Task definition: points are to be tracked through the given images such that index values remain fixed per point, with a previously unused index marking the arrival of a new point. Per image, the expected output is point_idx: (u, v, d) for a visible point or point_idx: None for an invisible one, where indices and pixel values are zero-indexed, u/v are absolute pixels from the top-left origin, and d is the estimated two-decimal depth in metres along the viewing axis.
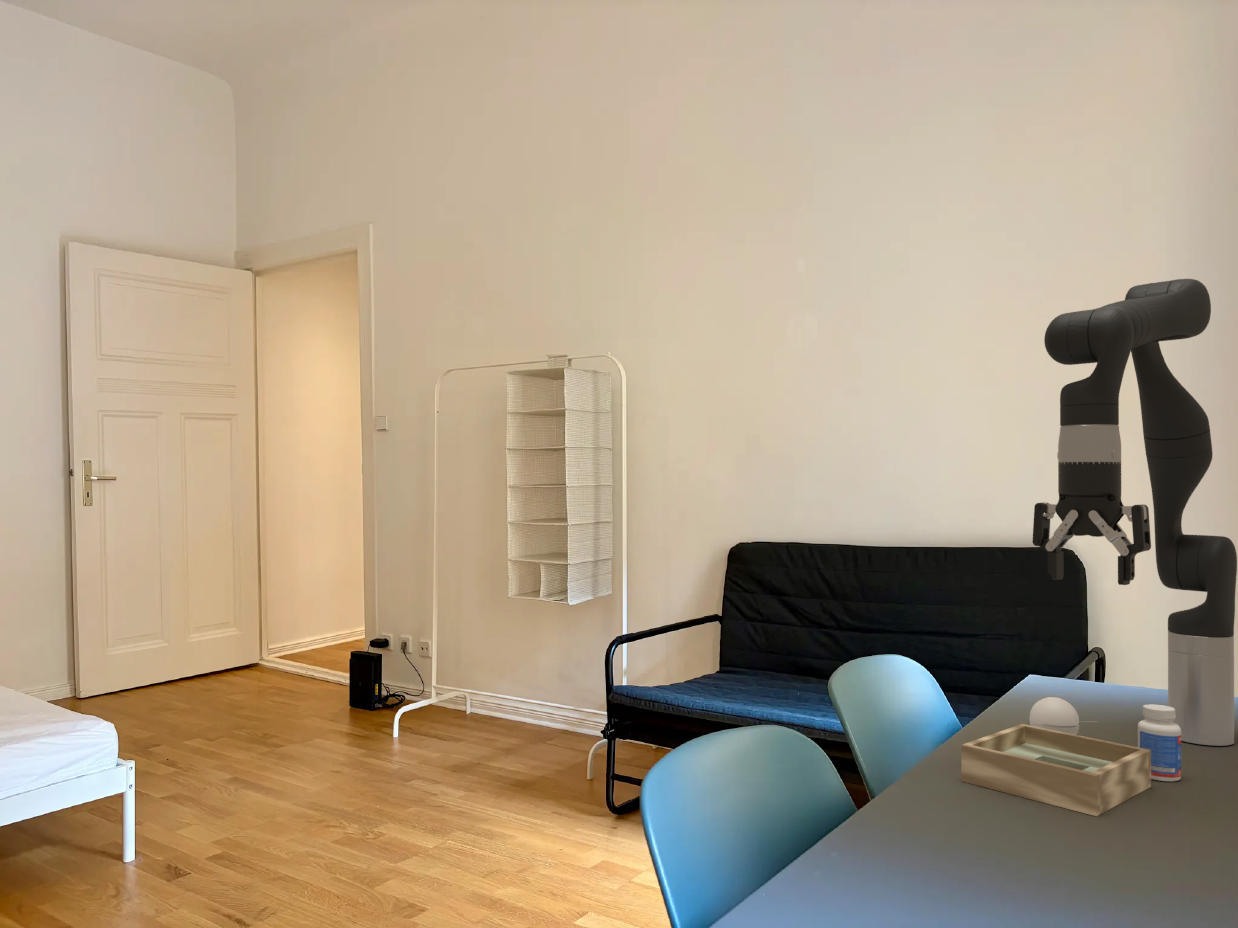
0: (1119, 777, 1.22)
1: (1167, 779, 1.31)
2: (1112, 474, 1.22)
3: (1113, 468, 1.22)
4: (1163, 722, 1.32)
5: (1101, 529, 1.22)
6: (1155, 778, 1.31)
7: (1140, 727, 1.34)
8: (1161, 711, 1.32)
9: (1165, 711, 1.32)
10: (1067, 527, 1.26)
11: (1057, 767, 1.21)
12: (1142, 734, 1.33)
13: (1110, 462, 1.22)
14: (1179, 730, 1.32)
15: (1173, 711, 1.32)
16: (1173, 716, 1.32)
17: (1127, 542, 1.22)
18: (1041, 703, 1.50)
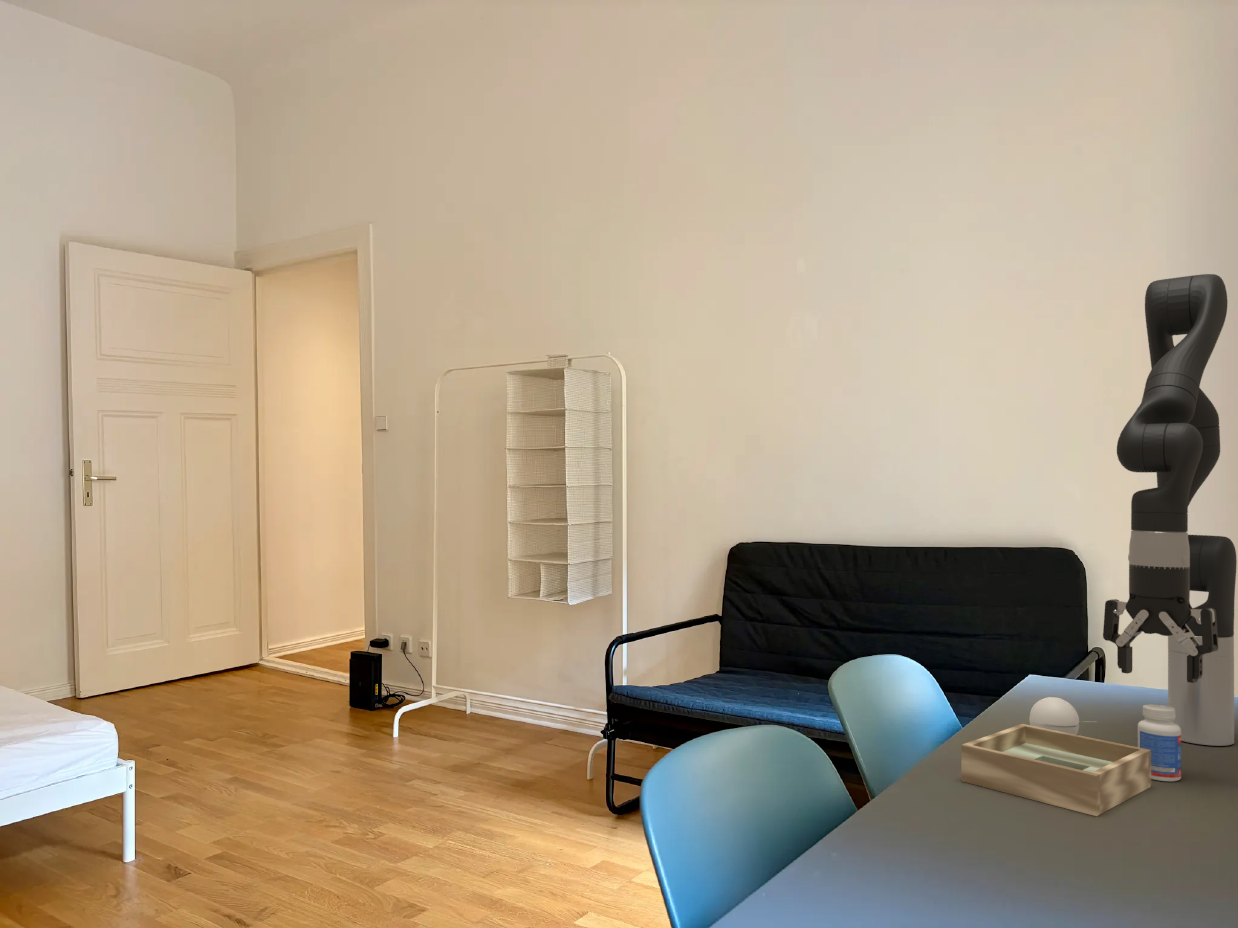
0: (1119, 777, 1.22)
1: (1167, 779, 1.31)
2: (1182, 579, 1.31)
3: (1183, 573, 1.31)
4: (1163, 722, 1.32)
5: (1171, 629, 1.31)
6: (1155, 778, 1.31)
7: (1140, 727, 1.34)
8: (1161, 711, 1.32)
9: (1165, 711, 1.32)
10: (1137, 625, 1.34)
11: (1057, 767, 1.21)
12: (1142, 734, 1.33)
13: (1180, 567, 1.31)
14: (1179, 730, 1.32)
15: (1173, 711, 1.32)
16: (1173, 716, 1.32)
17: (1195, 642, 1.31)
18: (1041, 703, 1.50)
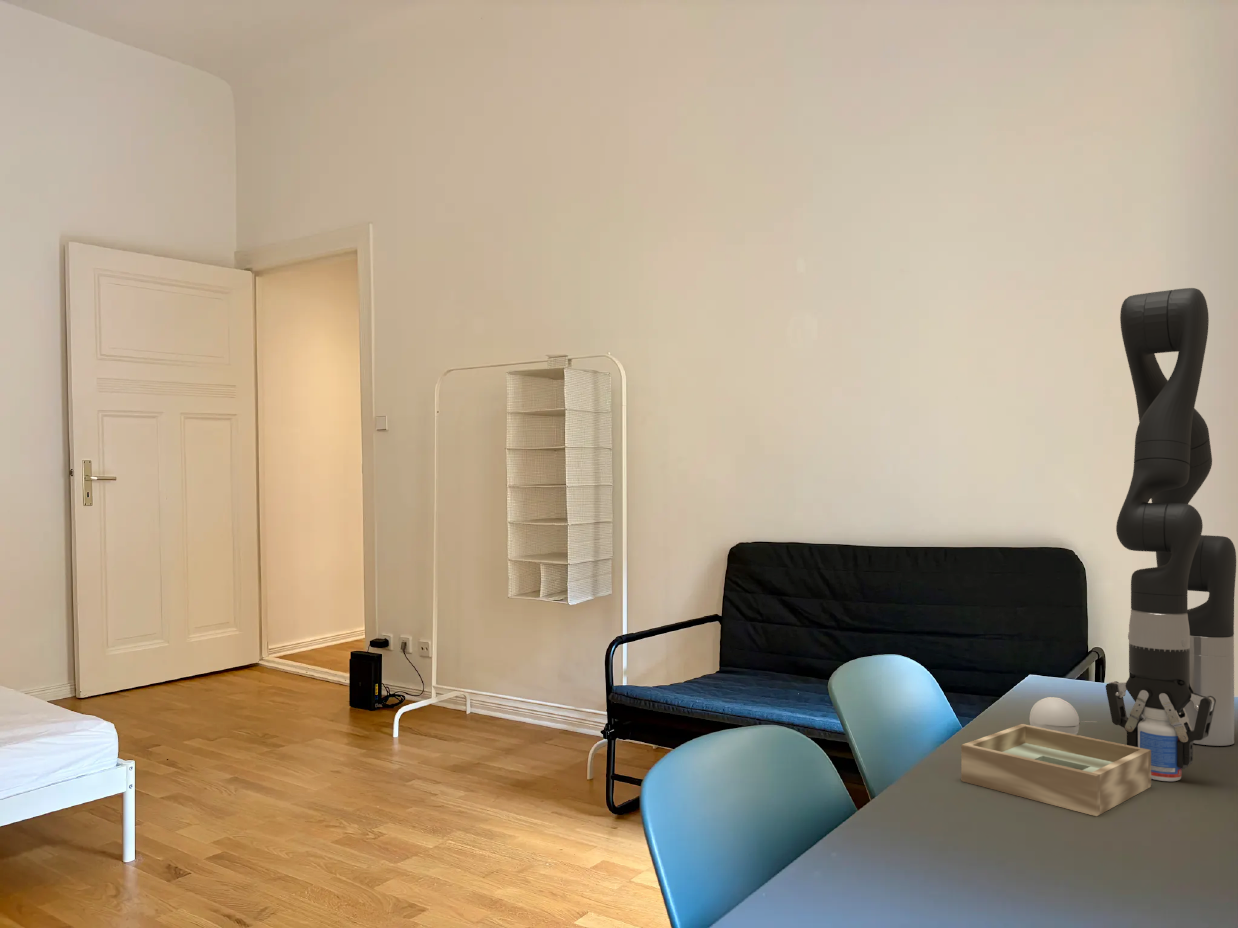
0: (1119, 777, 1.22)
1: (1167, 779, 1.31)
2: (1182, 661, 1.30)
3: (1183, 655, 1.30)
4: (1163, 722, 1.32)
5: (1167, 712, 1.31)
6: (1155, 778, 1.31)
7: (1140, 727, 1.34)
8: (1161, 711, 1.32)
9: (1165, 711, 1.32)
10: (1138, 705, 1.34)
11: (1057, 767, 1.21)
12: (1143, 733, 1.33)
13: (1180, 650, 1.30)
14: None
15: None
16: (1173, 716, 1.32)
17: (1188, 727, 1.31)
18: (1041, 703, 1.50)
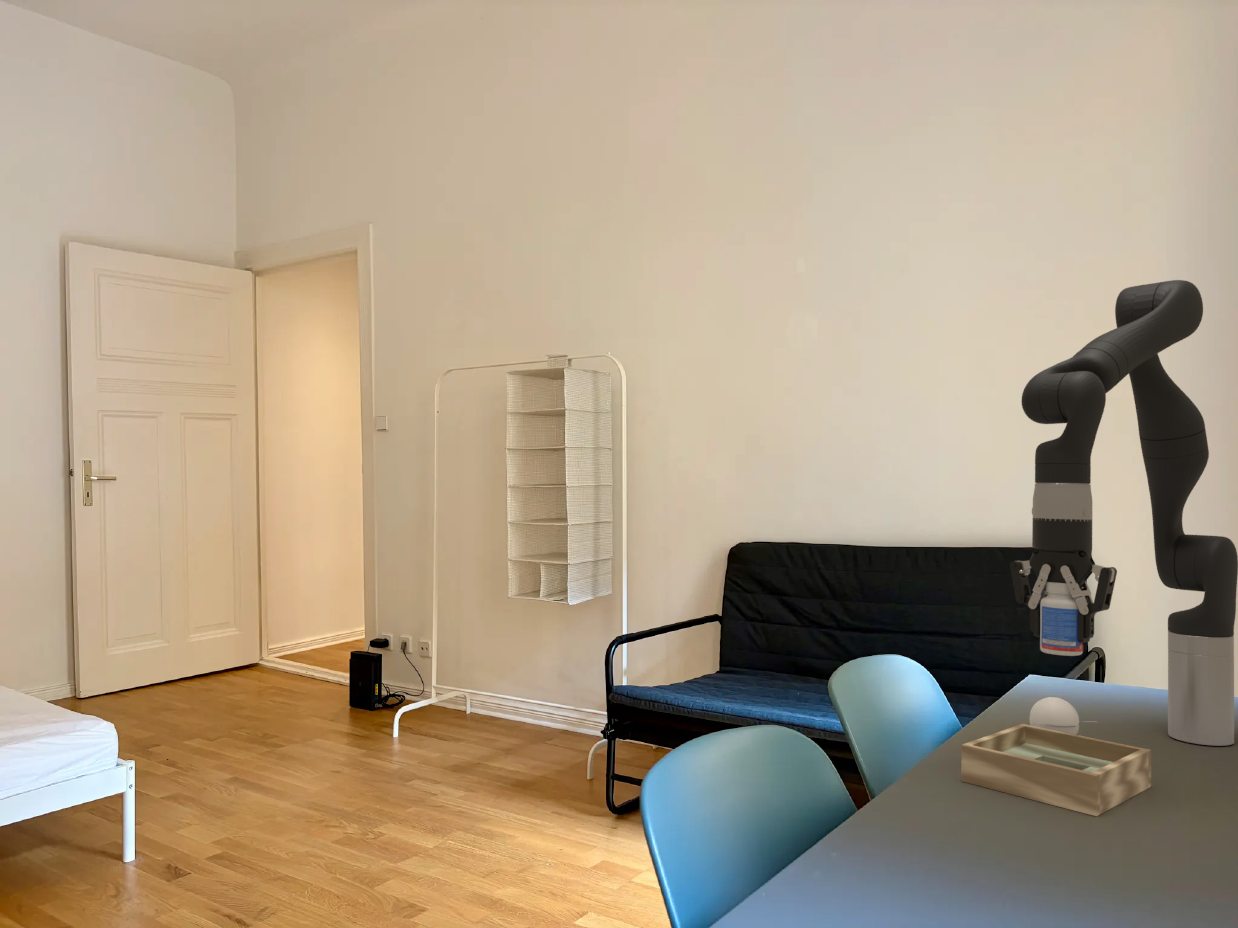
0: (1119, 777, 1.22)
1: (1067, 653, 1.27)
2: (1083, 531, 1.27)
3: (1084, 525, 1.27)
4: (1065, 596, 1.28)
5: (1068, 585, 1.28)
6: (1055, 653, 1.28)
7: (1042, 602, 1.30)
8: (1062, 584, 1.28)
9: (1066, 584, 1.28)
10: (1040, 580, 1.31)
11: (1057, 767, 1.21)
12: (1044, 608, 1.29)
13: (1081, 520, 1.27)
14: None
15: None
16: None
17: (1089, 601, 1.28)
18: (1041, 703, 1.50)
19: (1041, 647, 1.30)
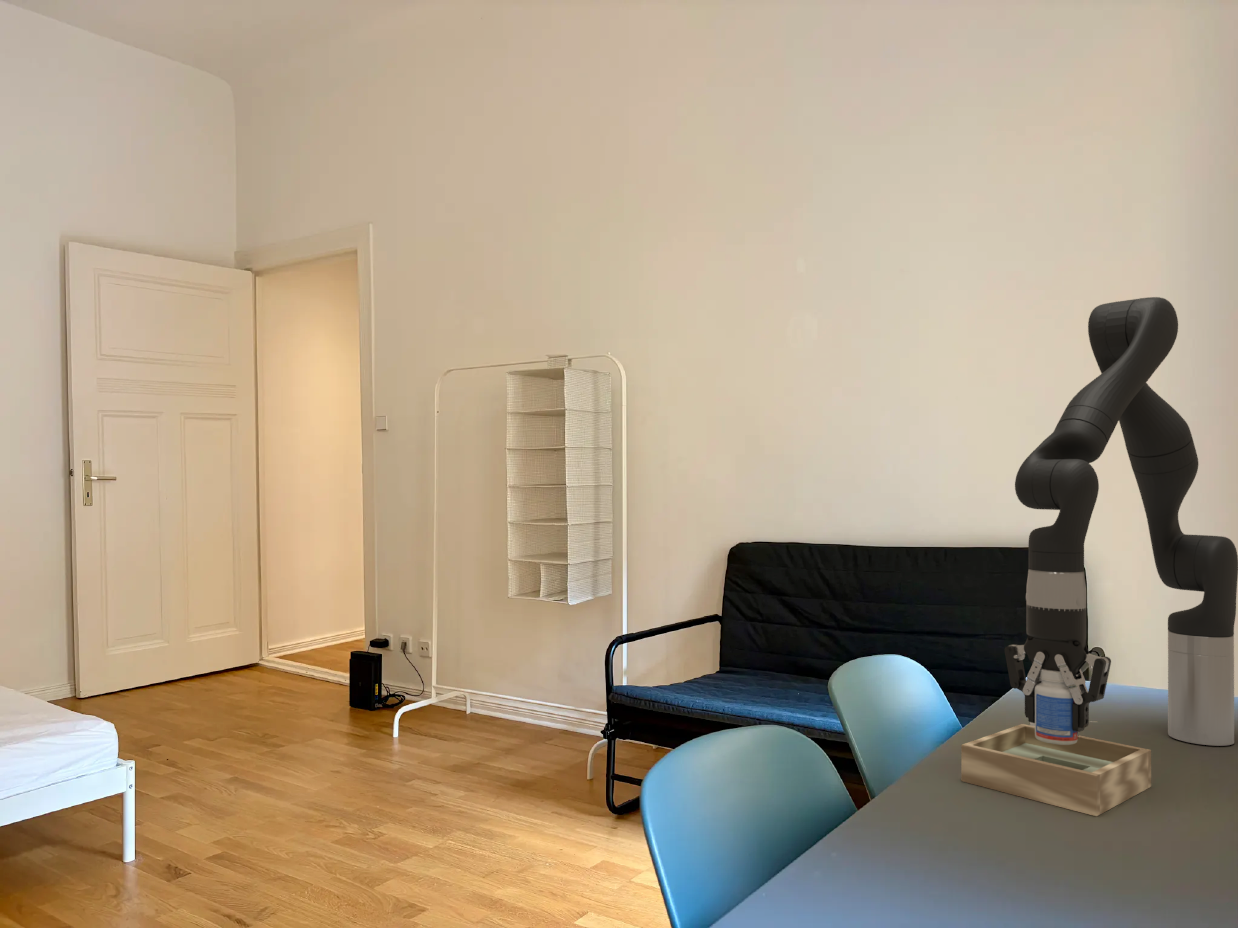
0: (1119, 777, 1.22)
1: (1062, 742, 1.27)
2: (1077, 621, 1.27)
3: (1078, 615, 1.27)
4: (1059, 684, 1.28)
5: (1063, 673, 1.27)
6: (1050, 742, 1.28)
7: (1036, 690, 1.30)
8: (1057, 673, 1.28)
9: None
10: (1034, 667, 1.30)
11: (1057, 767, 1.21)
12: (1038, 696, 1.29)
13: (1075, 609, 1.26)
14: None
15: None
16: None
17: (1084, 689, 1.28)
18: None
19: (1036, 734, 1.30)
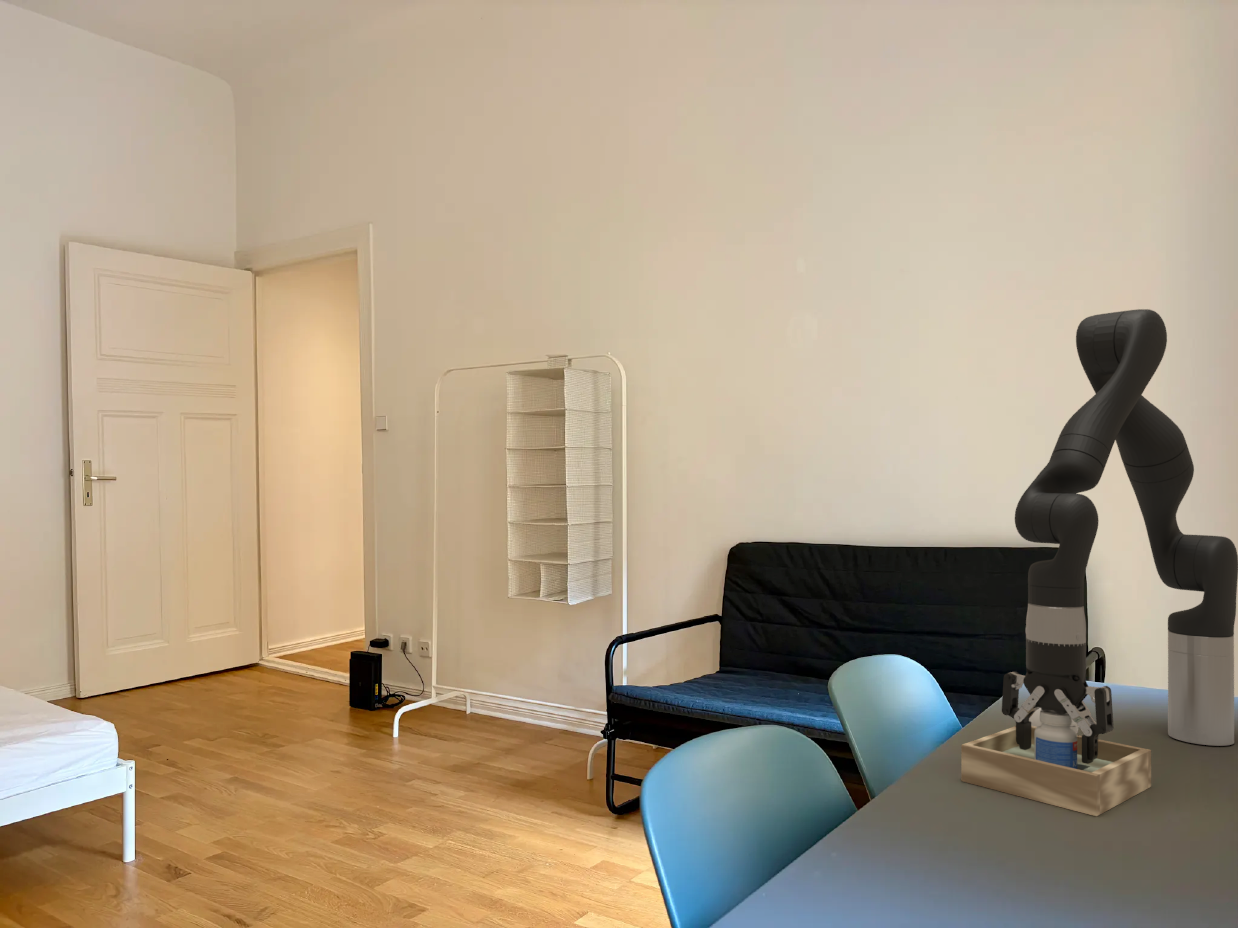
0: (1119, 777, 1.22)
1: None
2: (1077, 656, 1.26)
3: (1078, 650, 1.26)
4: (1058, 728, 1.28)
5: (1066, 708, 1.27)
6: None
7: (1036, 733, 1.30)
8: (1056, 716, 1.28)
9: (1060, 716, 1.28)
10: (1034, 701, 1.30)
11: (1057, 767, 1.21)
12: (1038, 740, 1.29)
13: (1075, 644, 1.26)
14: (1074, 736, 1.28)
15: (1069, 717, 1.28)
16: (1069, 722, 1.28)
17: (1091, 721, 1.27)
18: None
19: None
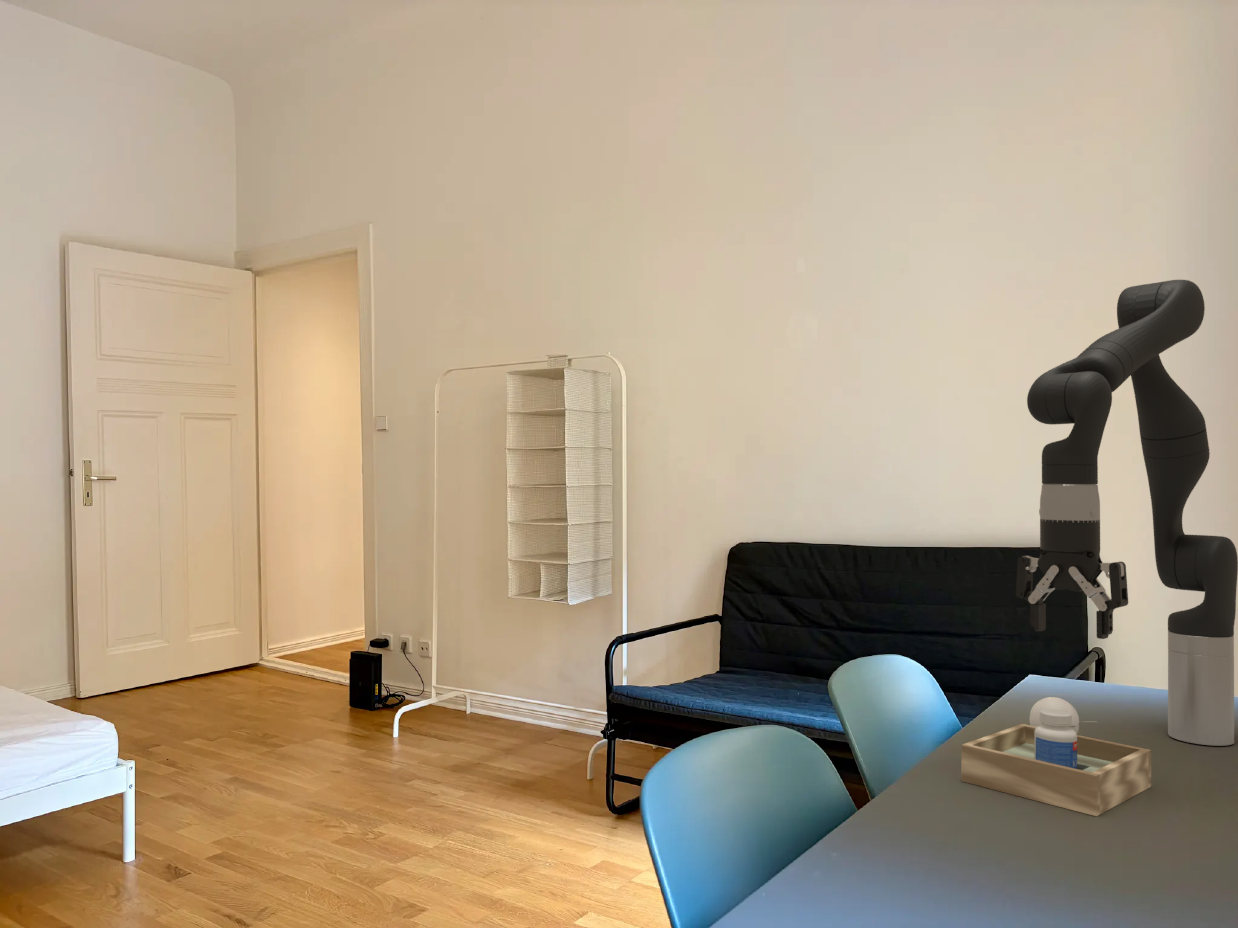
0: (1119, 777, 1.22)
1: None
2: (1091, 532, 1.27)
3: (1092, 526, 1.27)
4: (1058, 728, 1.28)
5: (1080, 585, 1.27)
6: None
7: (1036, 733, 1.30)
8: (1056, 716, 1.28)
9: (1060, 716, 1.28)
10: (1048, 581, 1.31)
11: (1057, 767, 1.21)
12: (1038, 740, 1.29)
13: (1089, 520, 1.27)
14: (1074, 736, 1.28)
15: (1069, 716, 1.28)
16: (1069, 722, 1.28)
17: (1105, 597, 1.27)
18: (1041, 703, 1.50)
19: None
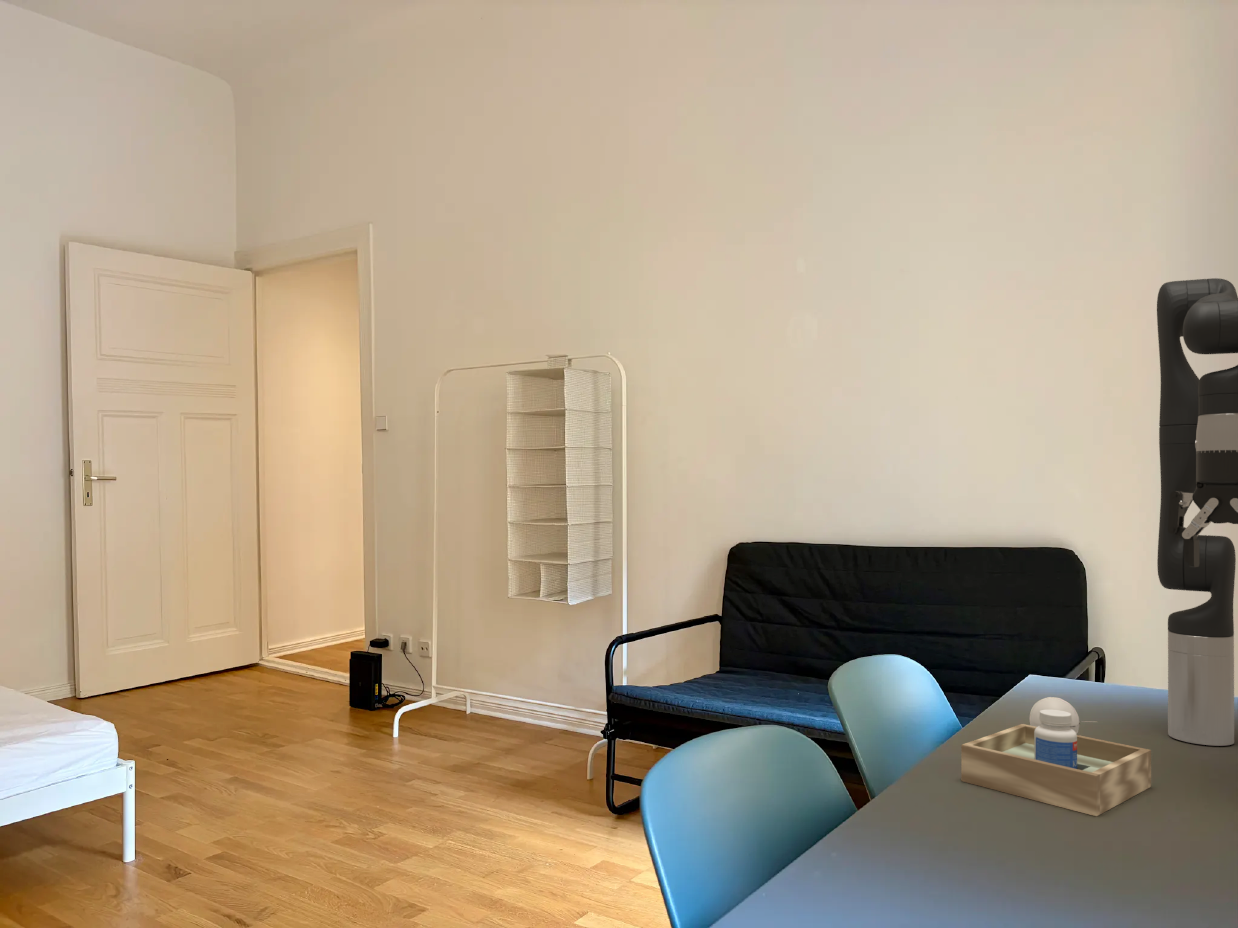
0: (1119, 777, 1.22)
1: None
2: None
3: None
4: (1058, 728, 1.28)
5: None
6: None
7: (1036, 733, 1.30)
8: (1056, 717, 1.28)
9: (1060, 717, 1.28)
10: (1206, 515, 1.27)
11: (1057, 767, 1.21)
12: (1038, 740, 1.29)
13: None
14: (1074, 736, 1.28)
15: (1069, 716, 1.28)
16: (1068, 722, 1.28)
17: None
18: (1041, 703, 1.50)
19: None
